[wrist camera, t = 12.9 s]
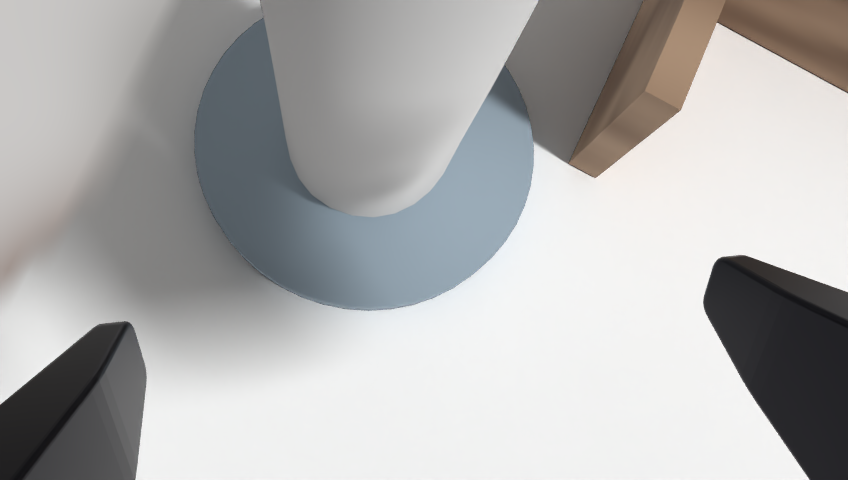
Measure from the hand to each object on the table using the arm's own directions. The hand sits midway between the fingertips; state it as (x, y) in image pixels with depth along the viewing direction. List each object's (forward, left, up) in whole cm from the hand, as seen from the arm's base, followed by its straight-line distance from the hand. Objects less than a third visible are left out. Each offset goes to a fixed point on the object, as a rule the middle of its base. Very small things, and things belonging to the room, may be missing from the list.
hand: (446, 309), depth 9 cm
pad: (+2, +6, -9) cm, 11 cm away
